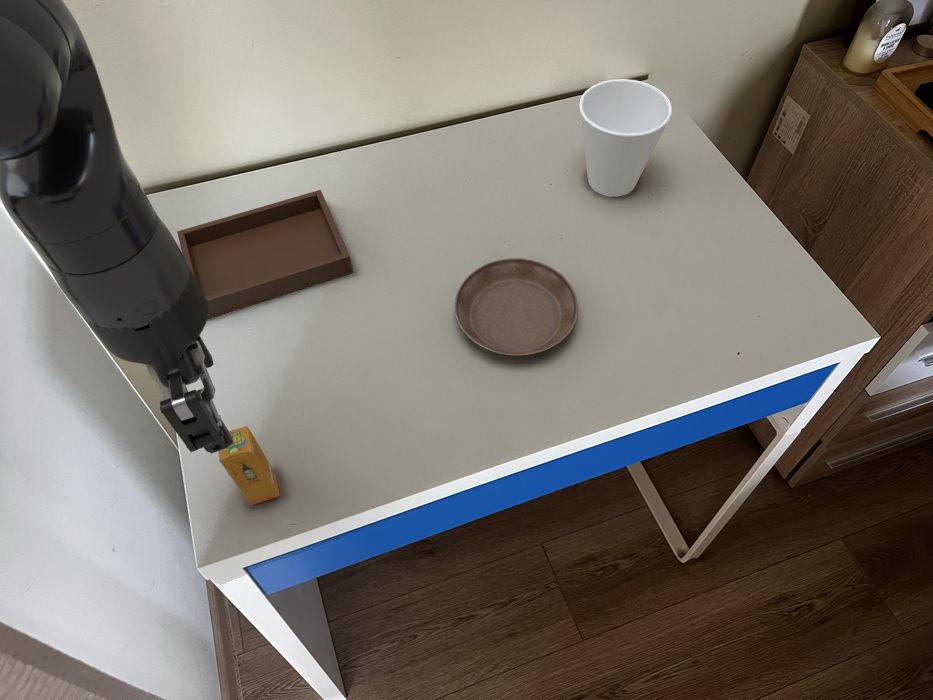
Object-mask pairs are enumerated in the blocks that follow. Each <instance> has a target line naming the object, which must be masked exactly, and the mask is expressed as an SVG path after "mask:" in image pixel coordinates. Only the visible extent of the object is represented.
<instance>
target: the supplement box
mask: <svg viewBox="0 0 933 700" xmlns="http://www.w3.org/2000/svg"><path fill="white" fill-rule="evenodd" d="M228 431H229V432H230V434H231V436H232V440H233V444H232V445H230V446H228V448H226V449H223V450H220V451H217V453H218V461H219V463H220V464H221V465H222V467H223V468H224V470H225V471H226V473H228V475H229V477H230V478H231V479H232V481H233V482H234V484H235V485H236V487H237V488H238V490H239V491H240V493H241V494H242V496H243V497H244V499H245V500H246V501H247V503H248V505H249V506H254V505H257V504H261V503H264V502H266V501H269V500H270V501H271V500H273V499H276V498H279V497H280V496H281V494H280V489H279V483H278V480H277V475H276V471H275V470H274V468H273V466H272V464H271V463H270V461H269V459H268V458H267V456H266V455H265V453H264V451H263V450H262V448H261V446H260V444H259V442H258V441H257V439H256V438H255V436H254V434H253V433H252V431H251V429H250V428H249V427H248V425H245V426H243V427H239V428H236V429H232V430H228Z"/></svg>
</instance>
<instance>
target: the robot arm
mask: <svg viewBox="0 0 933 700" xmlns="http://www.w3.org/2000/svg"><path fill="white" fill-rule="evenodd" d="M104 91H105V90H104V88H103V85H102V81H101V79H100V75H99V72H98V69H97V67H96V64H95V61H94V59H93V56H92V53H91V49H90V48H89V46H88V42H87V40H86V39H85V36H84V34H83V32H82V30H81V28H80V26H79V24H78V22H77V20H76V18H75V17H74V15H73V13H72V12H71V10H70V9H69V7H68V6H67V4H66V3H65V2H64V0H0V200H1V202H2V204H3V208H4V209H5V211H6V213H7V214H8V215H9V217H10V219H11V220H12V221H13V222H14V224H15V225H16V227H17V228H18V229H19V231H21V233H22V234H23V235H24V237H25V238H26V240H28V242H29V243H30V244H31V245H32V247H33V249H34V250H35V251H36V252H37V254H38V255H39V256H40V257H41V259H42V260H43V261H44V263H45V264H46V266H47V267H48V269H49V271H50V272H51V275H52V277H53V278H54V281H55V282H56V284H57V286H58V287H59V288H60V290H61V291H62V293H63V295H65V297H66V298H67V299H68V301H69V302H70V303H71V305H72V306H73V307H74V308H75V309H76V311H77V312H78V313H79V315H80V316H81V317H82V319H83V320H84V321H85V322H86V324H87V325H88V326H89V328H91V330H92V331H93V333H94V334H95V335H96V337H97V338H98V339H99V340H100V342H102V344H103V345H104V347H105V348H106V350H108V351H109V352H110V354H112V355H113V356H115V357H116V358H118V359H120V360H123V361H125V362H130V363H134V364H140V365H145V368H146V370H147V372H148V374H149V376H150V378H151V379H152V380H154V381H155V382H156V383H157V385H158V388H159V390H160V392H161V394H162V397H163V398H164V399H163V400H160V401H159V410H160V412H161V414H162V415H163V416H164V418H165V419H166V420H167V422H168V423H169V424H170V426H171V427H172V429H173V430H174V431H175V433H176V434H177V435H178V437H179V438H180V440H181V442H183V444H184V445H185V448H186V449H188V451H189V452H190V453H193V452H196V451H198V450H200V449H204V450H205V451H206V452H207V453H209V454H214V453H218V451H220V450H223V449H226V448H228V446H230V445H232V444H233V440H232V436H231V434H230V432H229V431H230V430H229V429H228V427H227V426H226V423H224V421H223V419H222V416H221V414H219V412H218V409H217V407H216V405H215V403H214V398H215V394H216V387H215V385H214V383H213V379H212V378H211V376H210V374H209V373H210V372H209V370H208V368H211V367H213V366H214V364H215V363H214V359H213V356H212V354H211V352H210V351H209V349H208V347H207V345H206V344H205V343H204V340H203V339H202V337H201V334H202V332H203V330H204V328H205V326H206V324H207V321H208V319H207V317H208V304H207V300H206V298H205V296H204V294H203V292H202V290H201V288H200V286H199V284H198V283H197V281H196V279H195V277H194V275H193V273H192V271H191V269H190V267H189V266H188V264H187V262H186V260H185V258H184V256H183V254H182V250H181V248H180V247H179V245H178V243H177V241H176V240H175V238H174V235H173V234H172V233H171V231H170V230H169V228H168V227H167V225H166V224H165V222H164V221H163V220H162V219H161V218H160V217H159V215H158V213H157V212H156V210H155V209H154V206H153V205H152V203H151V201H150V199H149V197H148V195H147V193H146V192H145V190H144V188H143V186H142V185H141V183H140V180H139V179H138V177H137V176H136V174H135V172H134V170H133V169H132V167H131V166H130V164H129V163H128V161H127V159H126V157H125V155H124V153H123V151H122V148H121V144H120V142H119V138H118V135H117V131H116V130H117V129H116V127H115V123H114V119H113V115H112V113H111V110H110V106H109V104H108V101H107V97H106V94H105V92H104ZM199 379H200V381H201V384H202V386H203V387H202V388H200V389H198V390H196V389H192V390H190V391H189V390H188V388H187V386H188V385H191V384H194V383H197V382H198V381H199Z"/></svg>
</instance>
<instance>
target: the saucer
mask: <svg viewBox="0 0 933 700" xmlns="http://www.w3.org/2000/svg"><path fill="white" fill-rule="evenodd" d="M578 313H579V303H578V297H577V294H576V291H575V289H574V288H573V286H572V283H570V281H569V280H568V279H567V278H566V277H565V275H563V274H562V273H560V272H559V271H558V270H556V269H555V268H554V267H552V266H550V265H547V264H546V263H543V262H540V261H537V260H534V259H528V258H523V257H522V258H520V257H519V258H518V257H512V258H511V257H510V258H502V259H497V260H494V261H491V262H490V261H489V262H488V263H486V264H483V265H481V266H480V267H478V268H476V269H475V270H473V271H472V272H471V273H470V274H468V275H467V277H466V278H465V279H464V280H463V281H462V283H461V284H460V286H459V288H458V290H457V292H456V295H455V298H454V314H455V318H456V321H457V323H458V325H459V327H460V329H461V330H462V331H463V333H464V334H465V335H466V336H467V338H469V339H470V340H471V341H472V342H474V343H475V344H476V345H478V346H479V347H482V348H484V350H487V351H490V352H492V353H496V354H499V355H504V356H511V357H526V356H531V355H535V354H540V353H542V352H544V351H547V350H549V349H551V348H553V347H555V346H557V345H558V344H559V343H560V342H562V341H563V340H564V339H565V338H566V337H567V336H568V335H569V334H570V332H571V331H572V330H573V328H574V326H575V324H576V322H577V318H578Z"/></svg>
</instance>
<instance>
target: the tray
mask: <svg viewBox="0 0 933 700" xmlns="http://www.w3.org/2000/svg"><path fill="white" fill-rule="evenodd" d="M176 233H177V237H178V240H179V245H180V250H181V252H182V254H183V256H184V258H185V260H186V262H187V264H188V266H189V267H190V269H191V271H192V273H193V275H194V277H195V279H196V281H197V283H198V284H199V286H200V288H201V290H202V292H203V294H204V296H205V298H206V300H207V304H208V317H207V320H208V319H211V318H215V317H218V316H221V315H224V314H227V313H230V312H234V311H236V310H241V309H243V308H247V307H249V306H252V305H255V304H259V303H262V302H265V301H268V300H271V299H274V298H278V297H280V296H283V295H287V294H289V293H293V292H296V291H300V290H303V289H305V288H309V287H313V286H315V285H319V284H322V283H324V282H329V281H331V280H333V279H337V278H340V277H343V276H347V275H350V274H352V273H354V270H353V265H352V261H351V257H350V254H349V252H348V250H347V247H346V245H345V243H344V240H343V238H342V235H341V233H340V231H339V229H338V226H337V224H336V222H335V220H334V217H333V215H332V212H331V210H330V208H329V206H328V204H327V201H326V199H325V196H324V193H323V192H322V189H318V190H315V191H311V192H307V193H305V194H300V195H298V196H294V197H291V198H287V199H284V200H281V201H277V202H273V203H270V204H266V205H263V206H260V207H256V208H253V209H250V210H246V211H242V212H239V213H235V214H232V215H228V216H226V217H222V218H218V219H214V220H211V221H208V222H205V223H202V224H198V225H194V226H191V227H187V228H184V229H180V230H177V231H176Z"/></svg>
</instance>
